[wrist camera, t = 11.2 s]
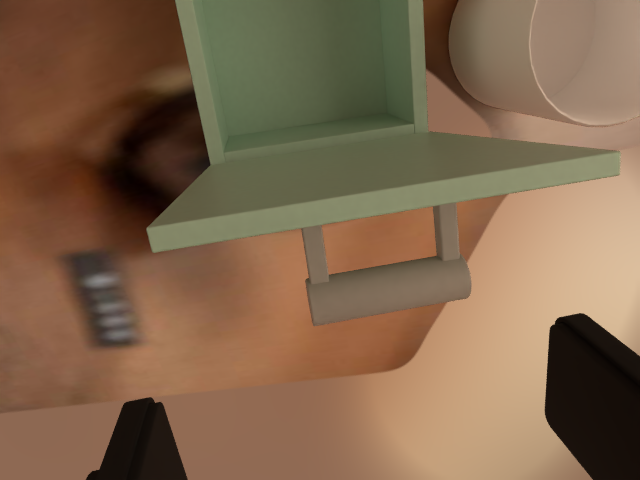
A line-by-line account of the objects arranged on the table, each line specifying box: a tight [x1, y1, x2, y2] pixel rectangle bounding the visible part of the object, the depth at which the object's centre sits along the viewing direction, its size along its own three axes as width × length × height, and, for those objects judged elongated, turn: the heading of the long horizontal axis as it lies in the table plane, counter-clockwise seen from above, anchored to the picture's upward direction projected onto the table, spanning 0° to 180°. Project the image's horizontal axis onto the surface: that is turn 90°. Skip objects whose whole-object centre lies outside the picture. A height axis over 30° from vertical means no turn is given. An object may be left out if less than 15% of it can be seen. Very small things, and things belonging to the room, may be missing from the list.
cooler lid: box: [147, 132, 621, 326], centre depth 24 cm, size 18×15×5 cm
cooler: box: [175, 0, 428, 165], centre depth 33 cm, size 17×15×8 cm
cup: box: [449, 0, 640, 127], centre depth 33 cm, size 12×12×12 cm
